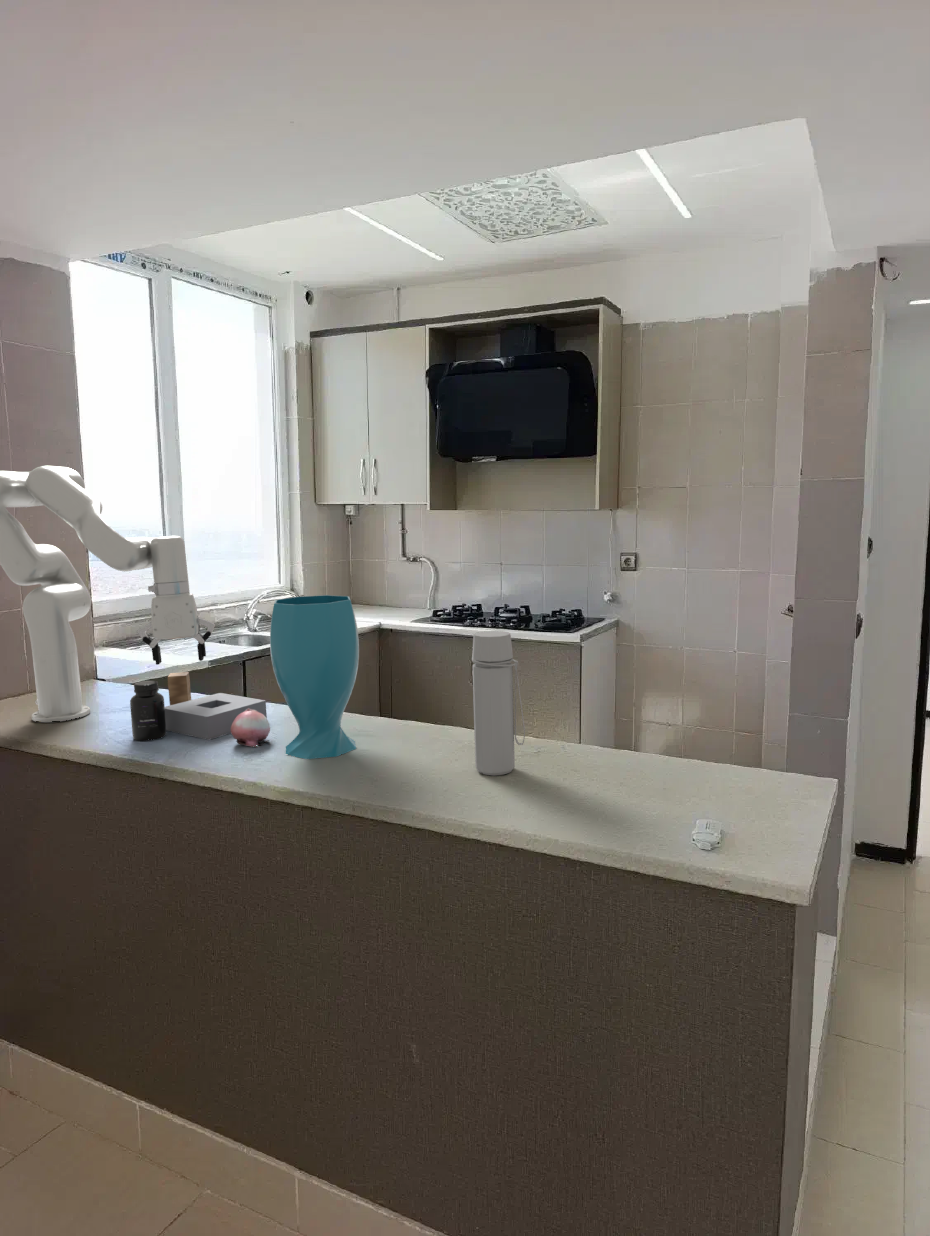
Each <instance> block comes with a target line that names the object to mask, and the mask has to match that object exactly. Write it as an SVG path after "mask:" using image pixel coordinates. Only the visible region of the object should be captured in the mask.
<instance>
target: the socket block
mask: <svg viewBox="0 0 930 1236" xmlns="http://www.w3.org/2000/svg"><path fill="white" fill-rule="evenodd" d="M248 708H249V709H251V710H256V711H258V712H259V713H261V714H263V715H264V716H265V717H266V718H267V719H268V717H267V716H268V715H267V713H268V712H267V701H266V700H265V699H260V698H252V697H248V696H247V697H246V696H241V695H237V694H235V695H234V694H228V693H223V692H218V693H214V694H210V695H206V696H202V697H198V698H195V699H191V700H190V701H186V702H182V703H178V704H174V705H170V704H169V705H167V706H165V721H166V732H167V731H168V732H171V731H172V732H171V733H176V734H180V735H186V736H190V737H193V738H194V737H195V738H198V739H202V740H208V741H210V740H213V739H216V738H220V737H222V736H226V735H229V734H231V725H232V723H233V721H234V719H235V718H236V717H237V716H238V715H239V714H240V713H242V712H244V711H245V710H247V709H248Z"/></svg>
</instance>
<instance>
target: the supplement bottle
mask: <svg viewBox="0 0 930 1236" xmlns="http://www.w3.org/2000/svg"><path fill="white" fill-rule="evenodd" d="M159 689H160V687H159V682H158V681H156V680H143V681H142V680H141V681H137V682H135V683H134V684H133V693H135V694H134V695H133V696H132V697H131V698H130V701H129V705H130V708H129V709H130V718H131V719H130V720H131V722H130V723H131V732H132V733H131V734H132V738H133V740H134V741H138V742H148V741H156V740H161V739H162V738H164V737H165V736H166V734H167V730H166V721H165V707H166V706H165V697H164V695H163V694H162V693H159V692H158V691H159Z"/></svg>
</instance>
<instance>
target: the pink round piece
mask: <svg viewBox="0 0 930 1236" xmlns="http://www.w3.org/2000/svg"><path fill="white" fill-rule="evenodd" d="M270 732H271V726H270V722H269V720H268V717H267V718H266V717H265V716H264V715H263V714H261V713H259V712H258V711H256V710H251V709H249V708H248V709H247V710H245V711H244V712H242V713H240V714H239V715H238V716H237V717H236V718H235V719H234V721H233V723H232V725H231V733H230V734H231V735H232V737H233V738H234V739H235V742H236V744H237V745H241V746H246V747H250V748H251V747H252V748H257V747H256V745H259V743H262V742H263V744H261V746H263V745H264V743H265V744H266V743H267V742H270V740H266V739H267V738H268V736H269V734H270ZM253 746H254V747H253Z"/></svg>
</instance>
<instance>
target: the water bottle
mask: <svg viewBox="0 0 930 1236" xmlns="http://www.w3.org/2000/svg"><path fill="white" fill-rule="evenodd" d="M511 636H512V635H511V633H510V632H508V631H503V630H489V631H488V630H487V631H486V630H485V631H479V632H475V633H473V637H472V639H473V640H472V653H471V654H472V655H471V661H472V663H473V664H472V692H473V694H472V696H473V726H474V727H473V732H474V759H475V761H474V762H475V763H474V764H475V768H476V770H477V772H478V773H480V774H483V775H485V776H494V777H495V776H496V777H497V776H503V775H507V774H510V773H511V772H512V771H513V769H515V767H516V765H515V764H516V763H515V761H516V760H515V742H516V744H517V745H518V746H523V745H524V743H525V740H526V739H525V738H526V737H525V736H526V726H525V720H524V713H523V712H524V711H523V705H522V698H521V691H520V690H521V689H520V684H519V677H518V666H519V661H518V660H516V659H514V654H513V645H512V637H511ZM512 662H514V663H512ZM513 667H514V671H515V677H514V674H513V673H514V671H513ZM514 678H515V679H514ZM513 680H515V681H514V682H513ZM514 683H515V685H514ZM514 688H515V689H514ZM517 688H518V696H519V703H520V711H521V716H522V717H521V719H522V725H523V726H522V727H523V739H522V742H519V741H518V739H517Z"/></svg>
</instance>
